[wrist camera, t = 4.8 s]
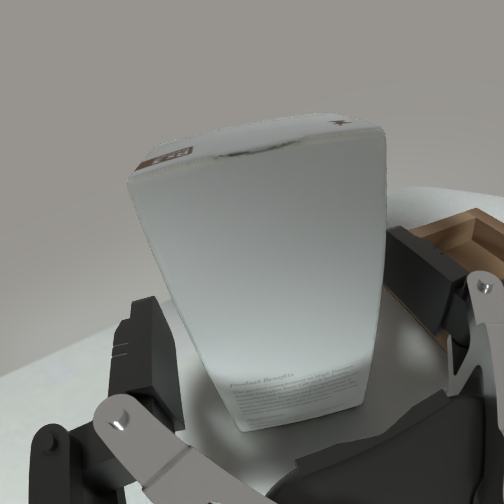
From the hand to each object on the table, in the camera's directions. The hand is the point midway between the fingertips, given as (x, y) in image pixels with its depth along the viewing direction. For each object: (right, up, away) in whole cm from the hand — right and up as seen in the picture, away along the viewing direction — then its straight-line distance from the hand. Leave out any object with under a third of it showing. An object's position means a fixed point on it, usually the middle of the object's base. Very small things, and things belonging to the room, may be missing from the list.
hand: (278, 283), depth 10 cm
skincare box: (+1, -6, +4) cm, 7 cm away
